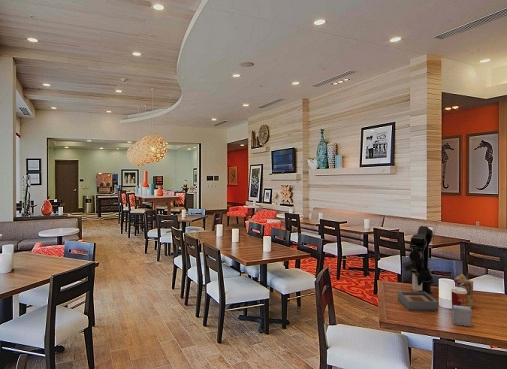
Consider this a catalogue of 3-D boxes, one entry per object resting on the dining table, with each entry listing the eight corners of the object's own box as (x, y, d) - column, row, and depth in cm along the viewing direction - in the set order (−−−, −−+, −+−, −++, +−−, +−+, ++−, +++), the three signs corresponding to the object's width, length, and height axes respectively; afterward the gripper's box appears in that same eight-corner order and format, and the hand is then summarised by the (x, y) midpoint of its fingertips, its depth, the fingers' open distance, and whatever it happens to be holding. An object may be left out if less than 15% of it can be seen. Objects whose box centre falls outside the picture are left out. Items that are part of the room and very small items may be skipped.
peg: (419, 288, 202) (419, 273, 202) (422, 290, 198) (422, 275, 198) (412, 288, 202) (412, 273, 202) (415, 290, 198) (415, 275, 198)
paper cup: (461, 318, 183) (461, 292, 182) (447, 313, 189) (447, 287, 189) (469, 315, 186) (470, 289, 186) (455, 310, 193) (456, 285, 192)
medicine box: (469, 323, 177) (469, 306, 176) (471, 327, 173) (471, 310, 172) (451, 321, 179) (452, 304, 179) (453, 324, 175) (453, 308, 175)
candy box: (473, 307, 197) (473, 280, 197) (470, 309, 195) (470, 282, 194) (456, 302, 204) (456, 277, 204) (453, 304, 202) (453, 278, 201)
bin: (424, 299, 208) (425, 291, 208) (437, 310, 192) (438, 302, 192) (397, 299, 209) (397, 291, 209) (408, 310, 193) (408, 301, 193)
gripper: (397, 253, 209) (397, 278, 210) (410, 261, 190) (409, 289, 191) (416, 253, 208) (415, 279, 209) (431, 262, 190) (430, 290, 191)
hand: (417, 284), depth 200 cm, fingers closed on peg, 4 cm apart
